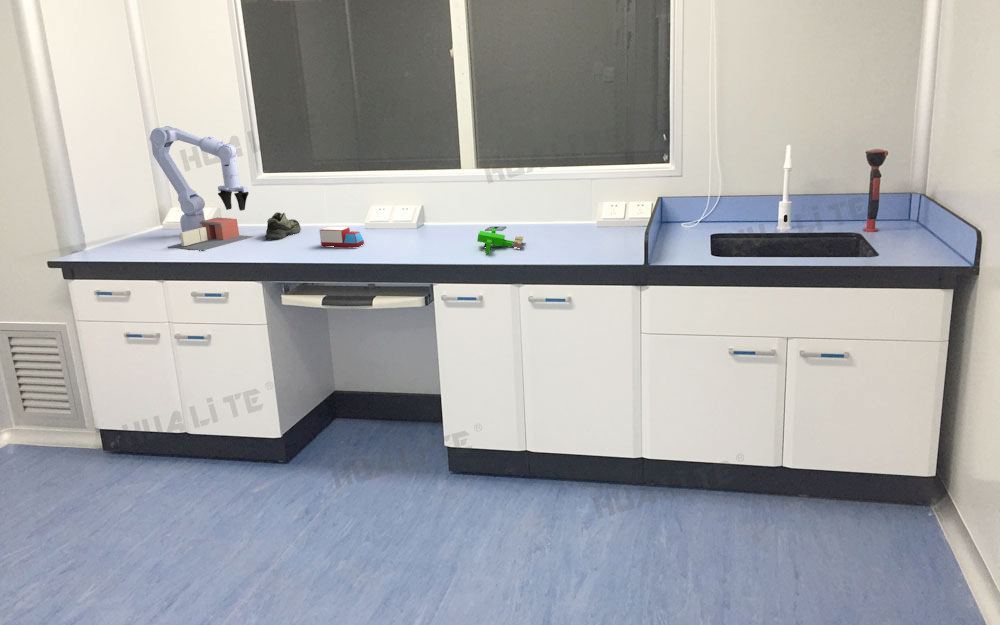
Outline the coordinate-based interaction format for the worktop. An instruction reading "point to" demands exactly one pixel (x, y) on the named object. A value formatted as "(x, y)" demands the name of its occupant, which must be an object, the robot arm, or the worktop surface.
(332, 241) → the toy truck
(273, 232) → the hiking shoe
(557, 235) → the worktop surface
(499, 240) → the toy
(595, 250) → the worktop surface
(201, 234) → the cream rectangular block
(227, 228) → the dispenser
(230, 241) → the mat
